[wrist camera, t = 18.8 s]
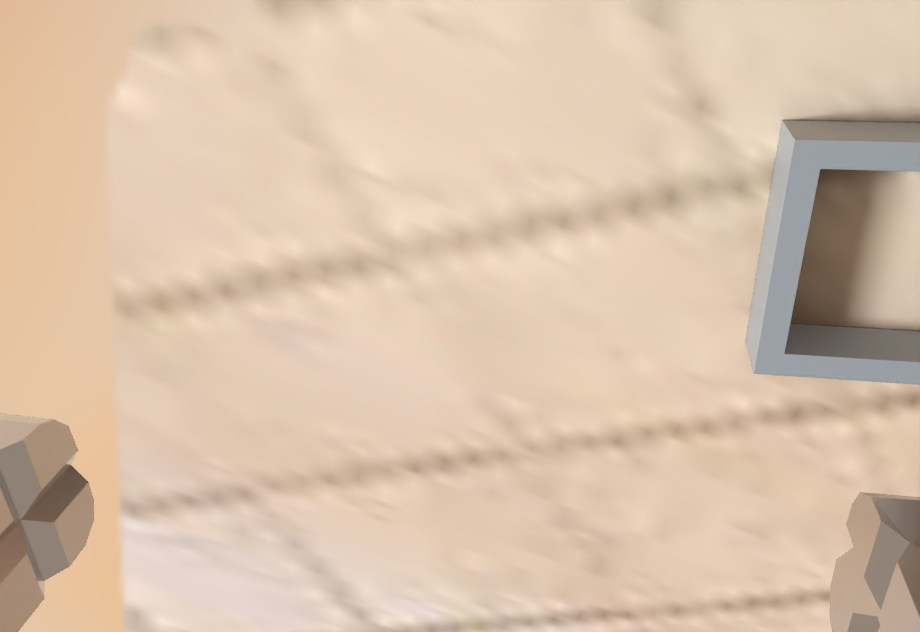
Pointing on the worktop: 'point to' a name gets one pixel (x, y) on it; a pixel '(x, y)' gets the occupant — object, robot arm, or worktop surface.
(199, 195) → the worktop surface
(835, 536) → the worktop surface
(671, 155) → the worktop surface
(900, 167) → the socket
